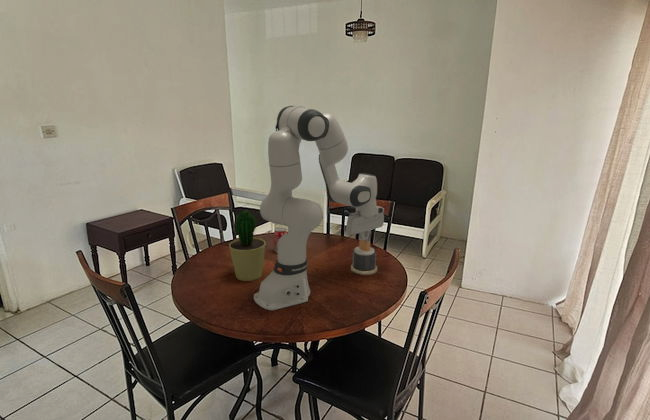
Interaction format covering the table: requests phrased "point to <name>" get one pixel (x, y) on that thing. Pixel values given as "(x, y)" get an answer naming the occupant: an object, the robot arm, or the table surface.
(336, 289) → the table surface
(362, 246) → the cap
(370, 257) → the cylinder
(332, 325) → the table surface
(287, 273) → the robot arm
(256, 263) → the potted cactus
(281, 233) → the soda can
